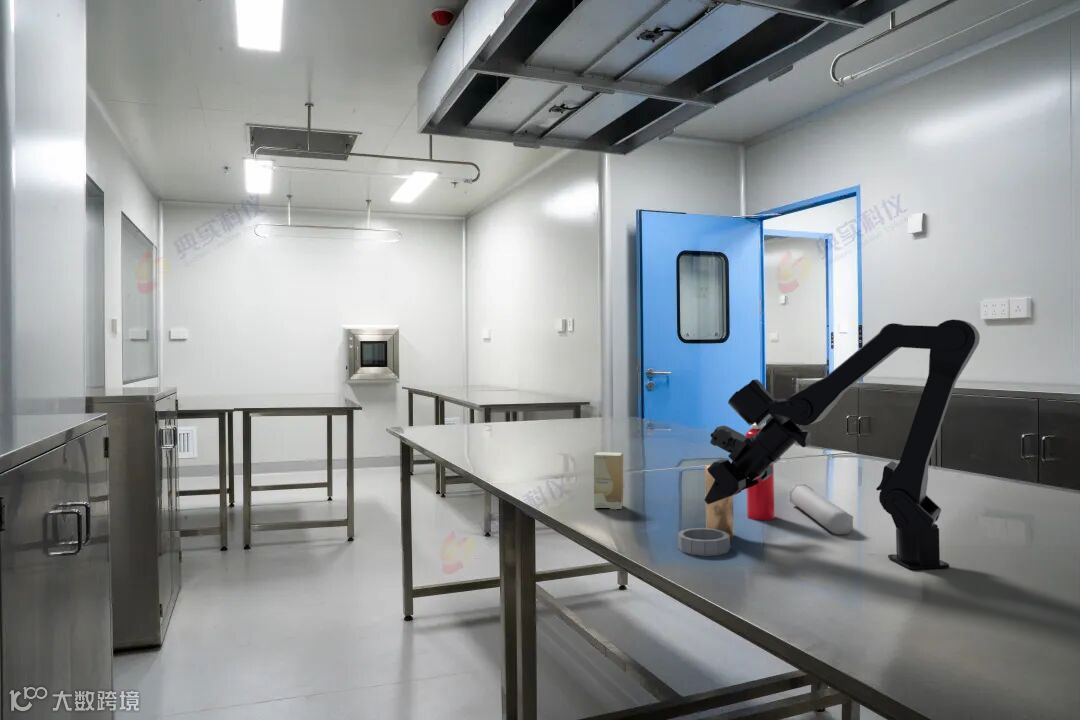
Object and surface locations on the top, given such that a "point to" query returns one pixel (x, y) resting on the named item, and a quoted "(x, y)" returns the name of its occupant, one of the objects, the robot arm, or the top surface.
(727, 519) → the copper stub
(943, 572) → the top surface
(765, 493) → the bottle
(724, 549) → the collar
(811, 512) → the tube
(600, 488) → the skincare box
